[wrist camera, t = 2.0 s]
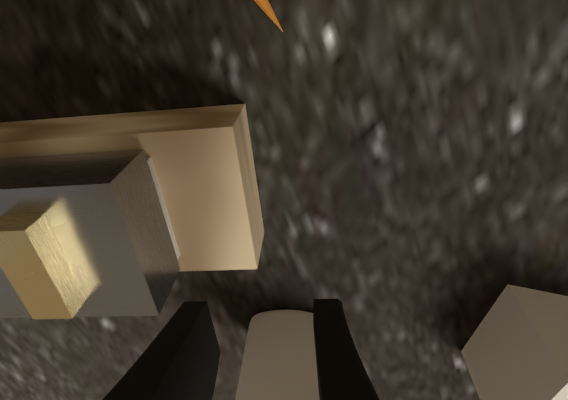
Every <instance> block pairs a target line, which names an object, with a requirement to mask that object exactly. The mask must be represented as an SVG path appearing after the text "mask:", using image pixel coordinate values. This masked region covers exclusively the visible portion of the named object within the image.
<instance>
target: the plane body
mask: <svg viewBox="0 0 568 400" xmlns="http://www.w3.org/2000/svg"><path fill="white" fill-rule="evenodd" d="M136 149H144V152H145V155H146V158H147V162H148V165H149V168H150V171H151V175H152V178H153V181H154V185H155V188H156V191H157V194H158V198H159V201H160V204H161V207H162V211H163V214H164V217H165V220H166V224H167V227H168V230H169V234H170V237H171V240H172V243H173V247H174V250H175V253H176V256H177V260H178V263H179V266H180V271H211V270H246V269H257V267H258V262H259V257H260V251H261V246H262V241H263V236H264V227H263V220H262V214H261V207H260V200H259V193H258V187H257V180H256V173H255V167H254V160H253V153H252V147H251V140H250V133H249V126H248V120H247V113H246V106H245V104H235V105H222V106H209V107H196V108H183V109H170V110H157V111H144V112H131V113H118V114H105V115H92V116H79V117H65V118H52V119H39V120H26V121H13V122H0V158H14V157H29V156H45V155H60V154H75V153H91V152H106V151H121V150H136Z"/></svg>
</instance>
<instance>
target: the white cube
mask: <svg viewBox="0 0 568 400" xmlns="http://www.w3.org/2000/svg"><path fill="white" fill-rule="evenodd" d="M461 352H462V355H463V357H464V360H465V362H466V365H467V367H468V370H469V373H470V375H471V378H472V380H473V383H474V385H475V388H476V390H477V393H478V395H479V398H480V400H568V296H564V295H559V294H554V293H549V292H544V291H539V290H534V289H529V288H524V287H519V286H514V285H509V284H507V286H506V287H505V289H504V290H503V291H502V293H501V294H500V296H499V297H498V299H497V300H496V302H495V303H494V304H493V306H492V307H491V309H490V310H489V312H488V313H487V315H486V316H485V317H484V319H483V320H482V322H481V323H480V325H479V326H478V328H477V329H476V330H475V332H474V333H473V335H472V336H471V338H470V339H469V341H468V342H467V343H466V345H465V346H464V348H463V349H462V351H461Z"/></svg>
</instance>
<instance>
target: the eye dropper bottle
mask: <svg viewBox="0 0 568 400" xmlns="http://www.w3.org/2000/svg"><path fill="white" fill-rule="evenodd" d="M235 400H320V399H319V389H318V377H317V364H316V352H315V340H314V327H313V313H311V312H306V311H300V310H272V311H266V312H261V313H258V314H256V315H254V316H253V317H252V319H251V321H250V323H249V328H248V334H247V339H246V344H245V350H244V355H243V361H242V366H241V371H240V377H239V383H238V388H237V394H236V399H235Z"/></svg>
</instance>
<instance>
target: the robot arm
mask: <svg viewBox="0 0 568 400" xmlns="http://www.w3.org/2000/svg"><path fill="white" fill-rule="evenodd" d="M313 327H314V340H315V352H316V364H317V377H318V389H319V399H320V400H379V398H378V396H377V394H376V392H375V390H374V388H373V386H372V384H371V382H370V379H369V377H368V375H367V373H366V371H365V368H364V366H363V364H362V362H361V359H360V357H359V355H358V352H357V350H356V348H355V345H354V342H353V340H352V337H351V334H350V332H349V329H348V326H347V323H346V319H345V316H344V312H343V307H342V302H341V301H340V300H338V299H314V309H313ZM219 356H220V349H219V345H218V341H217V338H216V334H215V330H214V327H213V323H212V320H211V316H210V312H209V309H208V305H207V301H199V302H184V303H183V304H182V305H181V306H180V308H179V309H178V310H177V311H176V313H175V314H174V315H173V316H172V318H171V319H170V320H169V322H168V323H167V324H166V325H165V327H164V328H163V329H162V330H161V332H160V333H159V334H158V335H157V337H156V338H155V339H154V340H153V342H152V343H151V344H150V345H149V347H148V348H147V349H146V350H145V351H144V353H143V354H142V355H141V356H140V357H139V359H138V360H137V361H136V362H135V363H134V364H133V366H132V367H131V368H130V369H129V370H128V372H127V373H126V374H125V375H124V376H123V377H122V379H121V380H120V381H119V382H118V383H117V384H116V385H115V386H114V387H113V388H112V390H111V391H110V392H109V393H108V394H107V395H106V396H105V397H104V398H103V400H212V396H213V392H214V388H215V382H216V376H217V370H218V363H219Z"/></svg>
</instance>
